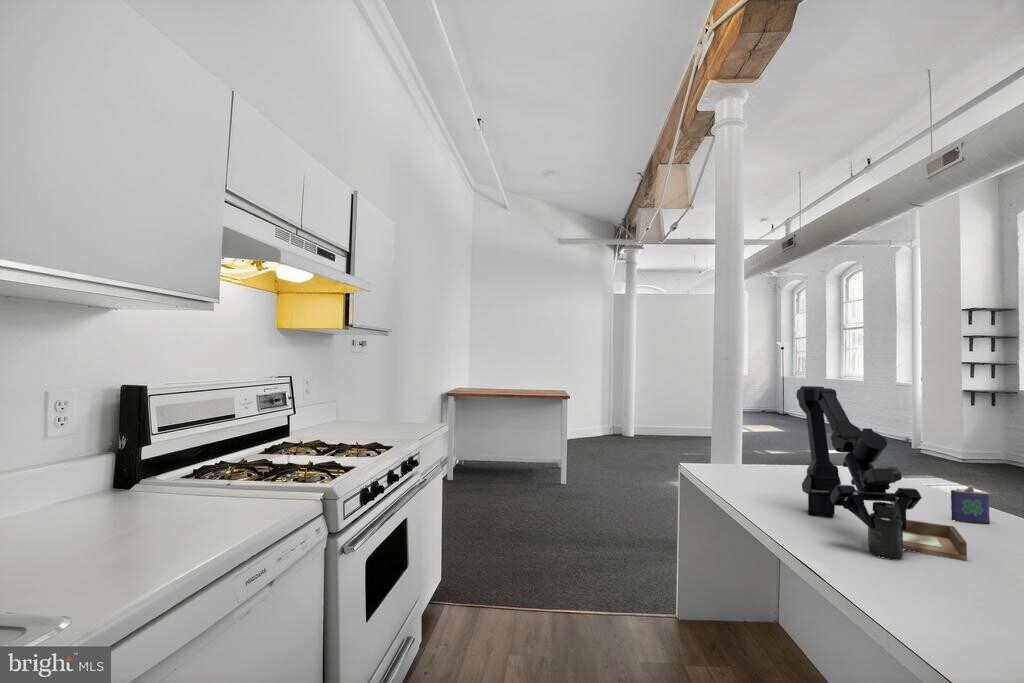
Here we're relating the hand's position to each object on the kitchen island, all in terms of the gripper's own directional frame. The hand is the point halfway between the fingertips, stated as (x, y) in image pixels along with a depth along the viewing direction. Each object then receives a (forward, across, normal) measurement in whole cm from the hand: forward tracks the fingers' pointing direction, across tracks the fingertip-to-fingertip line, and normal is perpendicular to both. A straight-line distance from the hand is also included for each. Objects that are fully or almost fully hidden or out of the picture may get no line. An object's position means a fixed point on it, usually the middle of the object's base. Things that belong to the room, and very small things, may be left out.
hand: (888, 528), depth 123 cm
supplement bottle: (+4, 0, +6) cm, 7 cm away
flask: (-21, +42, +31) cm, 56 cm away
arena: (-3, +13, +12) cm, 18 cm away
